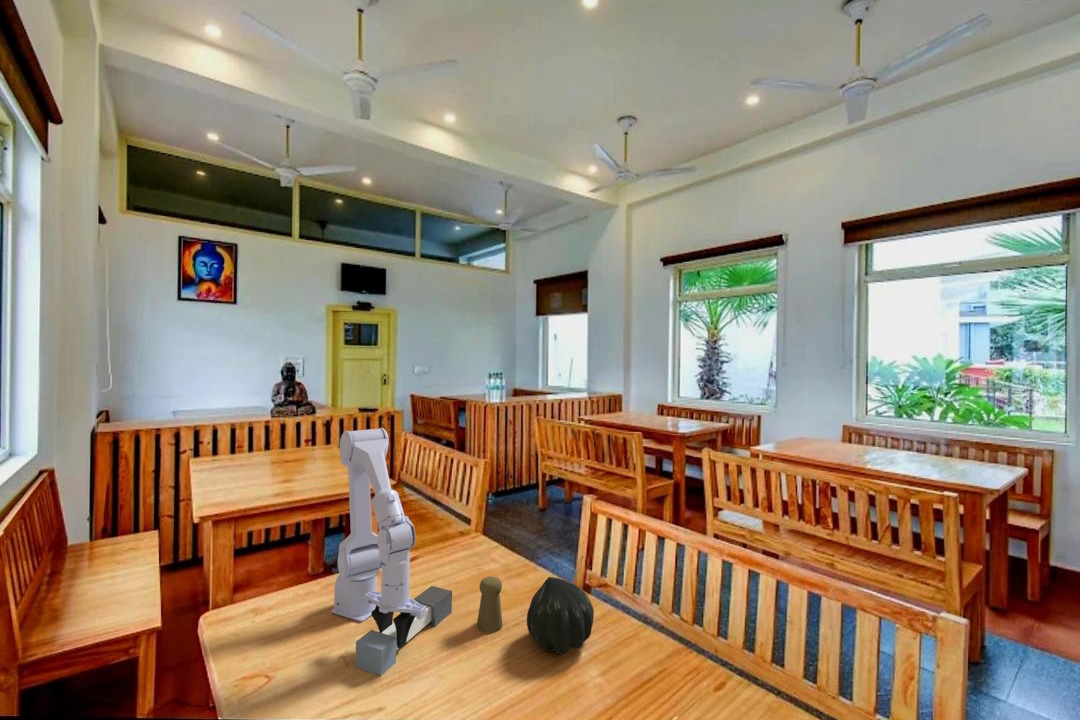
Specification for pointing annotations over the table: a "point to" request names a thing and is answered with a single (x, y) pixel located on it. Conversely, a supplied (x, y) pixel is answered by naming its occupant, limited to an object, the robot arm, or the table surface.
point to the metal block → (437, 603)
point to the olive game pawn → (490, 605)
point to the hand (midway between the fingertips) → (394, 642)
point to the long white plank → (415, 626)
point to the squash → (560, 616)
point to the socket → (376, 652)
